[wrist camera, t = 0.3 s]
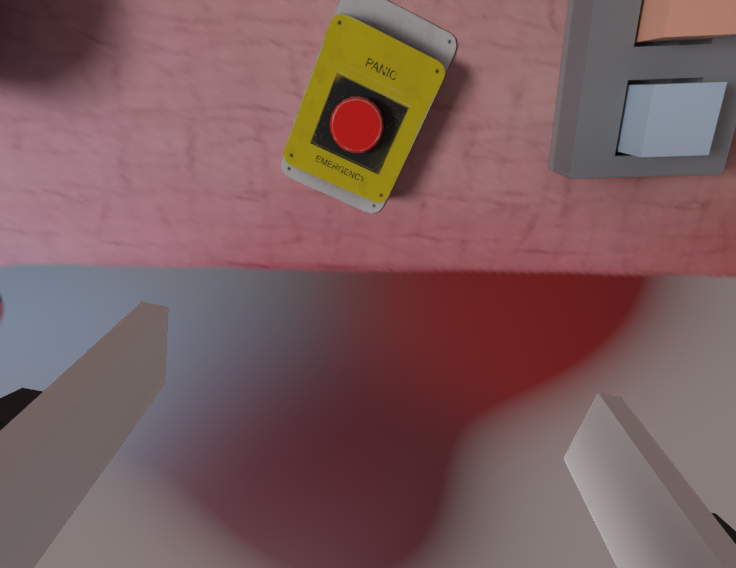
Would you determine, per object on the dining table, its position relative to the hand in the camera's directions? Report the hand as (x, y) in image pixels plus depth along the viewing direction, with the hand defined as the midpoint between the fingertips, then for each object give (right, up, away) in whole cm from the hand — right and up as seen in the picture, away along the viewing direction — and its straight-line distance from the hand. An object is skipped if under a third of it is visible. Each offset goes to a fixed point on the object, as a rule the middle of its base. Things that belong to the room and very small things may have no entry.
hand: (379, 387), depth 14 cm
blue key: (+20, +15, +18) cm, 31 cm away
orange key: (+20, +21, +16) cm, 33 cm away
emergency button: (-1, +17, +23) cm, 29 cm away
